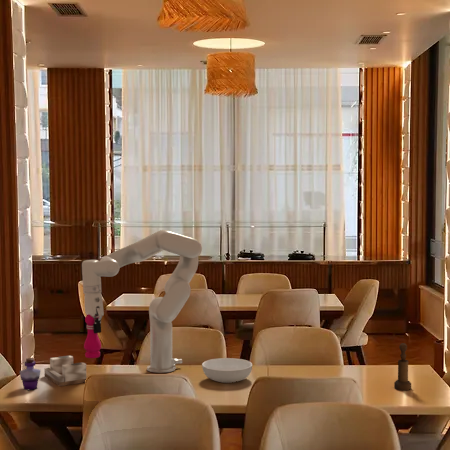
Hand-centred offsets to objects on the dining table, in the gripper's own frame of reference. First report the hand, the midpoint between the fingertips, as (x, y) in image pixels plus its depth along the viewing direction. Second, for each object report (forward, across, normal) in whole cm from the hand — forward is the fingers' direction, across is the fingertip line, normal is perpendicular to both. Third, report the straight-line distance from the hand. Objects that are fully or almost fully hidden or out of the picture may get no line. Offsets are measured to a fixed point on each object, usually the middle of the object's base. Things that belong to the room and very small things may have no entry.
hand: (94, 331), depth 325 cm
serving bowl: (+21, -37, -42) cm, 60 cm away
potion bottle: (+18, -6, +30) cm, 36 cm away
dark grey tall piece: (+24, -85, -94) cm, 129 cm away
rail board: (+18, 0, +14) cm, 23 cm away
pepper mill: (+11, 0, +1) cm, 11 cm away
